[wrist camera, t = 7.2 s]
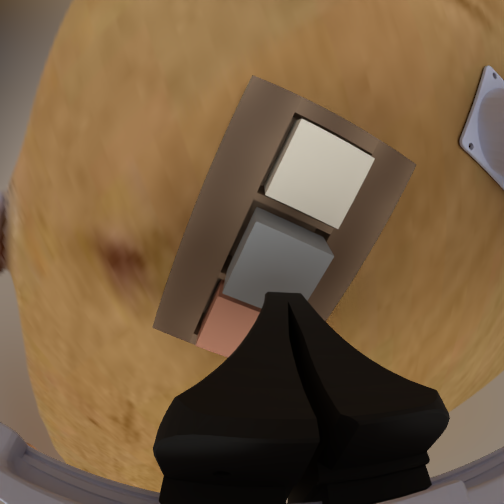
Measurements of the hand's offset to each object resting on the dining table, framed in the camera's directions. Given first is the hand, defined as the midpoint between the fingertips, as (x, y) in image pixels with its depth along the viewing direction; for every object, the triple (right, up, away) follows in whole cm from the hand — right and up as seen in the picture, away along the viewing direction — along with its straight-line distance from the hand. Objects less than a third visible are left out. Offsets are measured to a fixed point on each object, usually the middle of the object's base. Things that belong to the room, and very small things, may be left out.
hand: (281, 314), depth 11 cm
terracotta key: (-2, -1, +8) cm, 9 cm away
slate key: (0, +2, +5) cm, 6 cm away
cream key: (+2, +7, +5) cm, 9 cm away
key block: (0, +3, +8) cm, 9 cm away
